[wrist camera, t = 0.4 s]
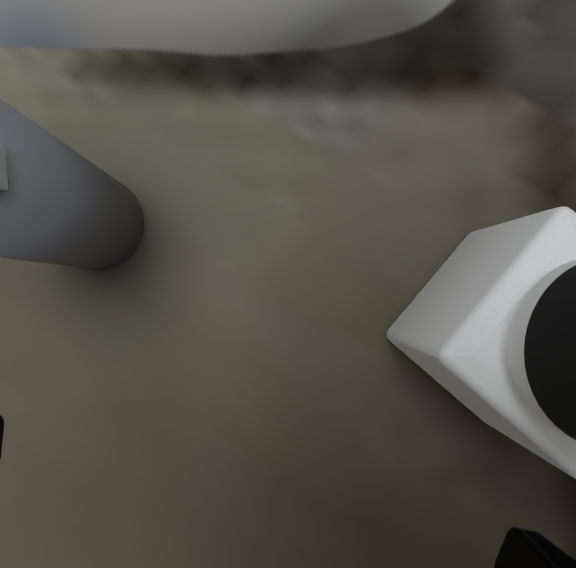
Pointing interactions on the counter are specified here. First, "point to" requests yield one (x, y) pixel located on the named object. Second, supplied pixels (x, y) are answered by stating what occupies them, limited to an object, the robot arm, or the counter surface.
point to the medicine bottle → (506, 331)
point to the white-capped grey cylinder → (60, 201)
